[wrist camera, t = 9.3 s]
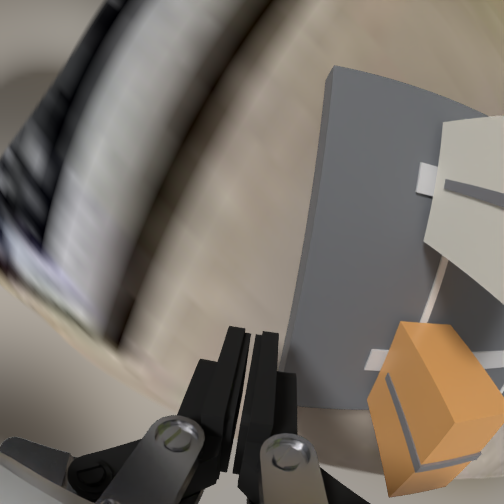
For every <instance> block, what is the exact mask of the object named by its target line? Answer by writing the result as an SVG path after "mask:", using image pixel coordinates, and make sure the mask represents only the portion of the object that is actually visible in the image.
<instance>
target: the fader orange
mask: <svg viewBox="0 0 504 504" xmlns="http://www.w3.org/2000/svg"><path fill="white" fill-rule="evenodd" d="M367 402H368V406H369V410H370V414H371V418H372V422H373V426H374V430H375V434H376V439H377V443H378V447H379V452H380V456H381V461H382V466H383V471H384V476H385V480H386V486H387V491H388V496H389V497H396V496H402V495H408V494H414V493H419V492H424V491H429V490H433V489H437V488H442V487H446V486H447V485H448V484H449V483H450V482H451V481H452V480H453V479H454V478H455V477H456V476H457V475H458V474H459V473H460V472H461V471H462V470H463V469H464V468H465V467H466V466H467V465H468V464H469V463H470V462H471V461H473V460H476V459H477V458H478V457H479V456H480V455H481V450H482V449H483V448H484V447H485V445H486V444H487V443H488V442H489V441H490V439H491V438H492V437H493V436H494V435H495V433H496V432H497V431H498V430H499V428H500V427H501V426H502V425H503V423H504V397H503V395H502V394H501V392H500V391H499V389H498V388H497V386H496V385H495V383H494V382H493V381H492V379H491V378H490V376H489V375H488V373H487V372H486V371H485V369H484V368H483V366H482V365H481V364H480V362H479V361H478V360H477V358H476V357H475V356H474V354H473V353H472V352H471V350H470V349H469V348H468V346H467V345H466V344H465V342H464V341H463V340H462V339H461V337H460V336H459V335H458V333H457V332H456V331H455V330H454V328H453V327H452V326H451V325H448V324H432V323H418V322H405V321H400V323H399V326H398V329H397V331H396V334H395V336H394V339H393V342H392V344H391V347H390V349H389V351H388V354H387V356H386V359H385V361H384V363H383V366H382V368H381V370H380V372H379V375H378V377H377V379H376V381H375V383H374V386H373V388H372V390H371V392H370V394H369V396H368V398H367Z"/></svg>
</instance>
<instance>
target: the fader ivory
mask: <svg viewBox="0 0 504 504" xmlns="http://www.w3.org/2000/svg"><path fill="white" fill-rule="evenodd" d="M424 242H425V243H427V244H428V245H429V246H431V247H432V248H433V249H435V250H436V251H438V252H439V253H440V254H442V255H443V256H444V257H446V258H447V259H448V260H450V261H451V262H452V263H454V264H455V265H456V266H457V267H459V268H460V269H461V270H463V271H464V272H465V273H466V274H468V275H469V276H470V277H471V278H473V279H474V280H475V281H476V282H478V283H479V284H480V285H481V286H482V287H484V288H485V289H486V290H487V291H488V292H490V293H491V294H492V295H493V296H494V297H495V298H497V299H498V300H499V301H500V302H501V303H502V304H504V115H503V116H491V117H481V118H472V119H464V120H456V121H448V122H443V128H442V138H441V148H440V156H439V163H438V170H437V177H436V183H435V189H434V194H433V199H432V205H431V210H430V214H429V219H428V224H427V228H426V232H425V237H424Z"/></svg>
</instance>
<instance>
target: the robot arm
mask: <svg viewBox="0 0 504 504" xmlns="http://www.w3.org/2000/svg"><path fill="white" fill-rule="evenodd" d="M250 337H251V334H250V333H245V328H239V327H233V326H229V328H228V331H227V334H226V337H225V341H224V344H223V347H222V350H221V353H220V356H219V359H218V362H215V361H210V360H204V359H200V360H199V362H198V364H197V367H196V369H195V372H194V374H193V377H192V379H191V382H190V384H189V387H188V389H187V392H186V394H185V397H184V399H183V402H182V404H181V407H180V409H179V412H178V414H177V415H175V416H174V415H171V416H167V417H163V418H161V419H159V420H157V421H156V422H155V423H154V424H153V425H152V426H151V427H150V428H149V430H148V431H147V433H146V434H145V436H144V437H143V438H142V439H140V440H137V441H134V442H130V443H127V444H124V445H120V446H117V447H114V448H110V449H106V450H103V451H99V452H95V453H91V454H87V455H83V456H81V457H73V456H72V455H71V454H70V453H68V452H64V451H61V450H57V449H53V448H50V447H47V446H44V445H40V444H37V443H34V442H31V441H28V440H26V439H23V438H18V437H11V438H8V439H6V440H5V441H3V443H2V444H1V446H0V504H198V503H199V501H200V499H201V497H202V494H203V492H204V489H205V488H207V487H210V486H211V485H214V484H216V481H217V479H219V475H220V471H221V472H227V469H228V464H229V459H230V454H231V450H232V444H233V439H234V434H235V429H236V424H237V419H238V414H239V409H240V403H241V398H242V393H243V386H244V379H245V372H246V365H247V358H248V351H249V344H250ZM278 340H279V333H272V332H265V331H263V333H262V335H257V334H256V337H255V343H254V349H253V355H252V360H251V366H250V372H249V378H248V383H247V389H246V395H245V400H244V406H243V411H242V417H241V423H240V429H239V436H238V442H237V449H236V454H235V460H234V467H233V474H239V479H238V488H239V489H240V490H241V491H242V492H243V493H244V494H245V495H246V496H247V504H370V503H369V502H367V501H366V500H364V499H363V498H361V497H360V496H358V495H357V494H355V493H354V492H353V491H351V490H350V489H348V488H347V487H346V486H344V485H343V484H341V483H340V482H339V481H338V480H336V479H335V478H333V477H332V476H331V475H329V474H328V473H327V472H326V471H324V470H323V469H322V468H320V466H319V462H318V458H317V454H316V451H315V449H314V446H313V445H312V444H311V443H310V442H309V441H308V440H306V439H305V438H303V437H302V436H298V435H297V377H296V373H288V372H280V371H277V359H278Z"/></svg>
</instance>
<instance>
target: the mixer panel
mask: <svg viewBox="0 0 504 504" xmlns="http://www.w3.org/2000/svg"><path fill="white" fill-rule="evenodd" d="M481 117H489V116H487V115H485V114H483V113H481V112H479V111H476V110H474V109H472V108H470V107H468V106H465V105H463V104H461V103H458V102H456V101H453V100H451V99H448V98H446V97H443V96H441V95H438V94H435V93H433V92H430V91H427V90H424V89H421V88H418V87H415V86H412V85H409V84H406V83H403V82H400V81H396V80H393V79H389V78H386V77H382V76H379V75H375V74H371V73H367V72H363V71H358V70H354V69H349V68H345V67H340V66H335V65H334V66H333V68H332V70H331V72H330V73H329V75H328V77H327V79H326V82H325V92H324V101H323V111H322V119H321V128H320V136H319V144H318V151H317V159H316V166H315V173H314V180H313V187H312V194H311V200H310V207H309V213H308V220H307V226H306V232H305V238H304V244H303V249H302V255H301V261H300V266H299V272H298V277H297V283H296V288H295V293H294V298H293V304H292V309H291V314H290V319H289V324H288V328H287V333H286V338H285V343H284V347H283V352H282V357H281V361H280V366H279V370H278V371H280V372H288V373H296V377H297V406H299V407H311V408H327V409H351V410H369V406H368V402H367V398H368V396H369V394H370V392H371V390H372V388H373V386H374V383H375V381H376V379H377V377H378V375H379V372H380V370H381V368H382V366H383V363H384V361H385V359H386V356H387V354H388V351H389V349H390V347H391V344H392V342H393V339H394V336H395V334H396V331H397V329H398V326H399V323H400V321H405V322H418V323H432V324H448V325H451V326H452V327H453V328H454V330H455V331H456V332H457V333H458V335H459V336H460V337H461V339H462V340H463V341H464V342H465V344H466V345H467V346H468V348H469V349H470V350H471V352H472V353H473V354H474V356H475V357H476V358H477V360H478V361H479V362H480V364H481V365H482V366H483V368H484V369H485V371H486V372H487V373H488V375H489V376H490V378H491V379H492V381H493V382H494V383H495V385H496V386H497V388H498V389H499V391H500V392H501V394H502V395H503V397H504V304H502V303H501V302H500V301H499V300H498V299H497V298H495V297H494V296H493V295H492V294H491V293H490V292H488V291H487V290H486V289H485V288H484V287H482V286H481V285H480V284H479V283H478V282H476V281H475V280H474V279H473V278H471V277H470V276H469V275H468V274H466V273H465V272H464V271H463V270H461V269H460V268H459V267H457V266H456V265H455V264H454V263H452V262H451V261H450V260H448V259H447V258H446V257H444V256H443V255H442V254H440V253H439V252H438V251H436V250H435V249H433V248H432V247H431V246H429V245H428V244H427V243H425V242H424V237H425V232H426V228H427V224H428V219H429V214H430V210H431V205H432V199H433V194H434V189H435V183H436V177H437V170H438V163H439V156H440V148H441V138H442V128H443V122H448V121H456V120H464V119H472V118H481Z"/></svg>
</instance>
